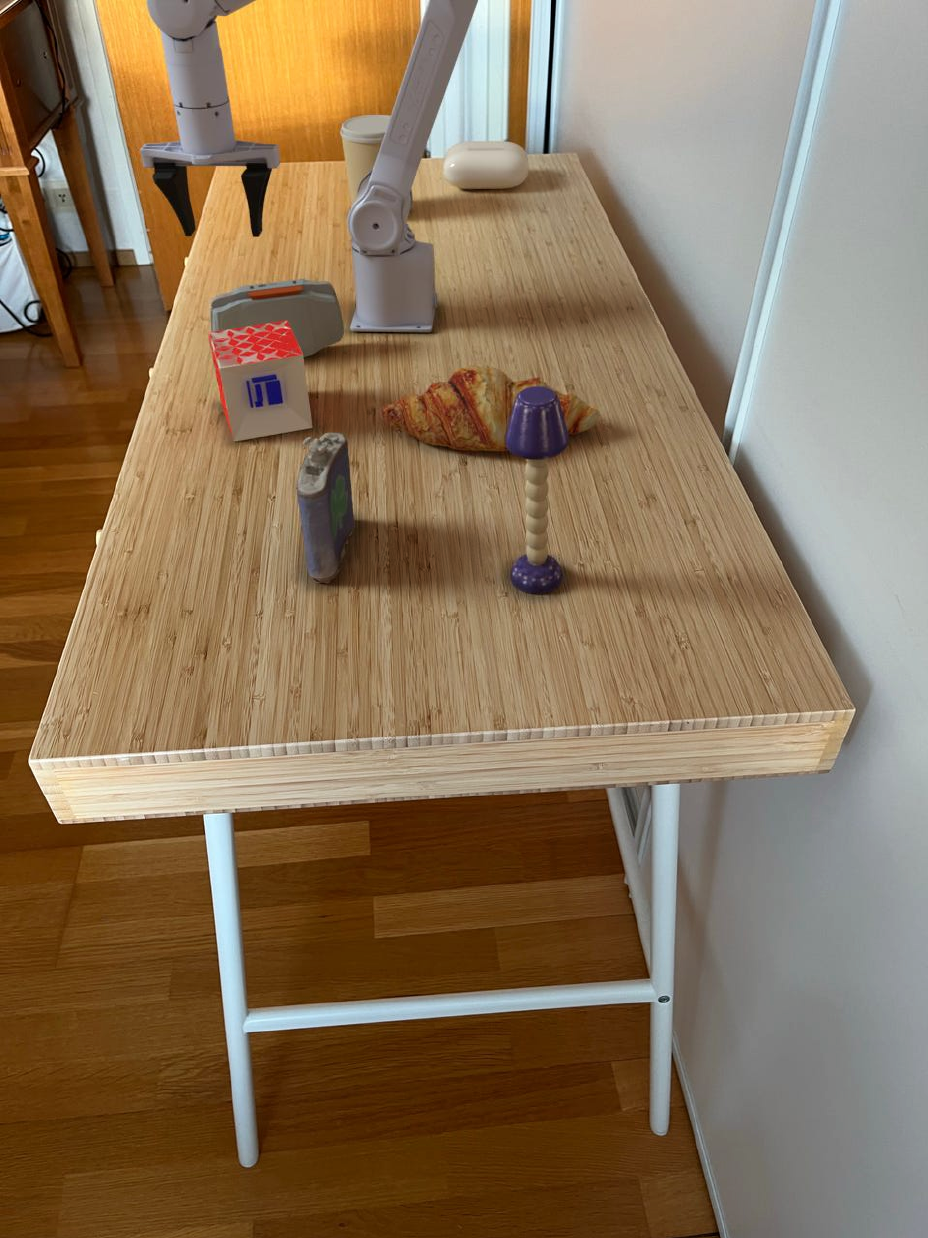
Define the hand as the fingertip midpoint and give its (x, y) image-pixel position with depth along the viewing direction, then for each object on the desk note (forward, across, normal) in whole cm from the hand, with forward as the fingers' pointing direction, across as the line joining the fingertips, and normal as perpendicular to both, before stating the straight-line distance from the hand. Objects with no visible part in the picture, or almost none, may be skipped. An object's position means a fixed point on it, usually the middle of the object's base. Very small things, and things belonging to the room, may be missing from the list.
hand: (224, 233), depth 112 cm
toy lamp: (+10, +35, -48) cm, 60 cm away
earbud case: (+10, +28, +48) cm, 56 cm away
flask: (+10, +18, -45) cm, 50 cm away
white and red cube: (+10, +8, -23) cm, 26 cm away
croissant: (+10, +31, -26) cm, 42 cm away
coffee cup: (+10, +13, +35) cm, 39 cm away
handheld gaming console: (+10, +7, -10) cm, 16 cm away
